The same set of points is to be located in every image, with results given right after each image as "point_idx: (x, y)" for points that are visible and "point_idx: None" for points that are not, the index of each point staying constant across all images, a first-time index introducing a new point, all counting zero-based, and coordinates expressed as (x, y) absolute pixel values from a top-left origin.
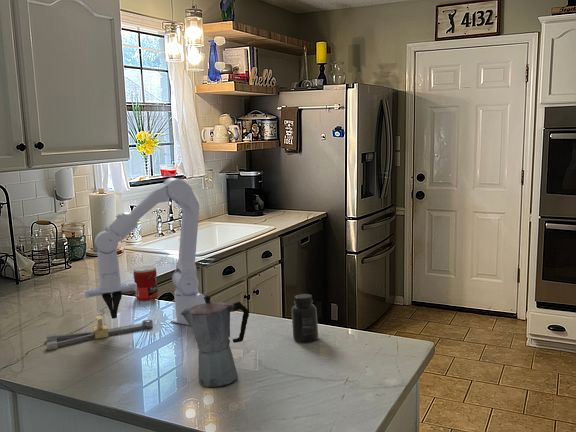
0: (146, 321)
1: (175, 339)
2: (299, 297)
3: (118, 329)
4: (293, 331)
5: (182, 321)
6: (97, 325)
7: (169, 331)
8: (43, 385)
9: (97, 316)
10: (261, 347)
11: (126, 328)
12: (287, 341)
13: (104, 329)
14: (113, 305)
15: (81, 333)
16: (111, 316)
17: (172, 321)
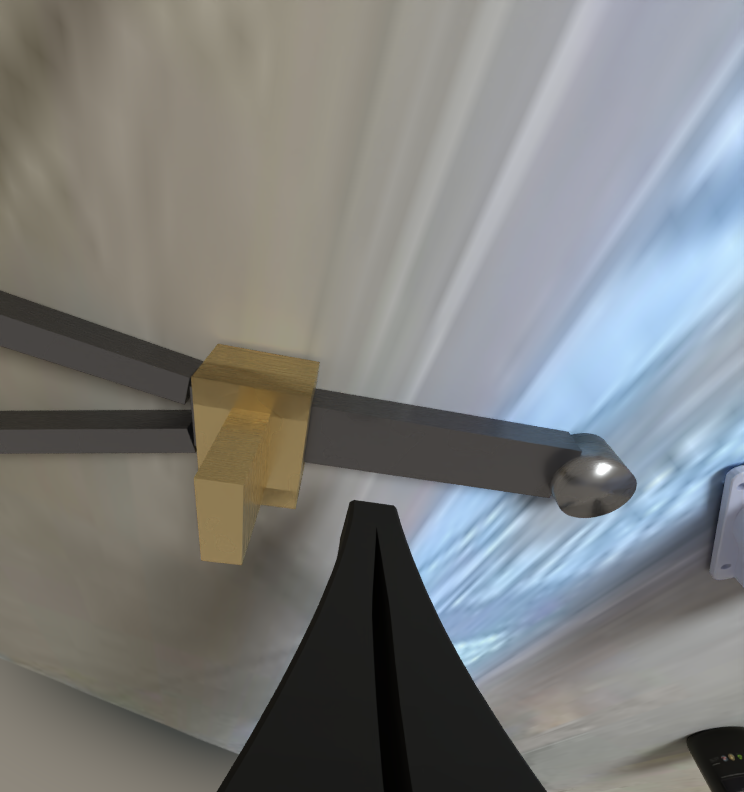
0: (585, 498)
1: (528, 626)
2: None
3: (383, 461)
4: (712, 767)
5: (736, 535)
6: (229, 420)
7: (587, 562)
8: (51, 671)
9: (205, 488)
10: (616, 727)
11: (434, 476)
12: (683, 729)
13: (273, 504)
14: (376, 653)
15: (104, 368)
16: (342, 537)
17: (727, 488)
